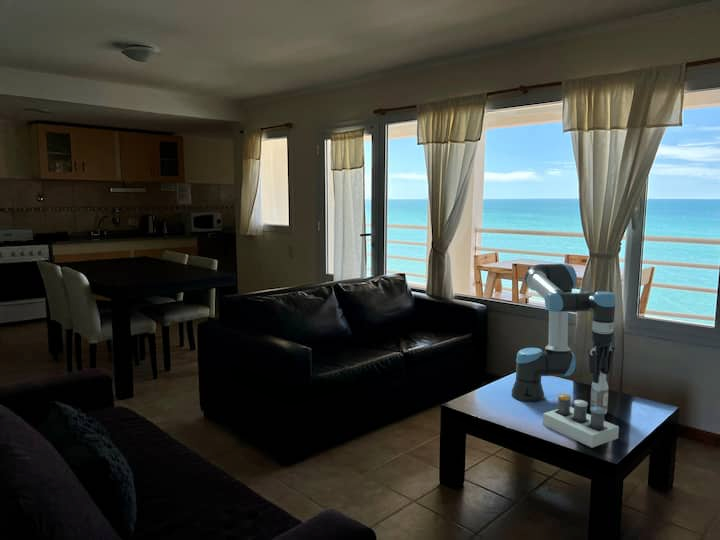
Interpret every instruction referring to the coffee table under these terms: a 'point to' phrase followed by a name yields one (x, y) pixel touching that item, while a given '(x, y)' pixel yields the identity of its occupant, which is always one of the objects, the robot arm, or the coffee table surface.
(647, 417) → the coffee table surface
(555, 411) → the mount
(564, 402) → the knob
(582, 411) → the knob
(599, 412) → the knob
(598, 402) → the bath foam
